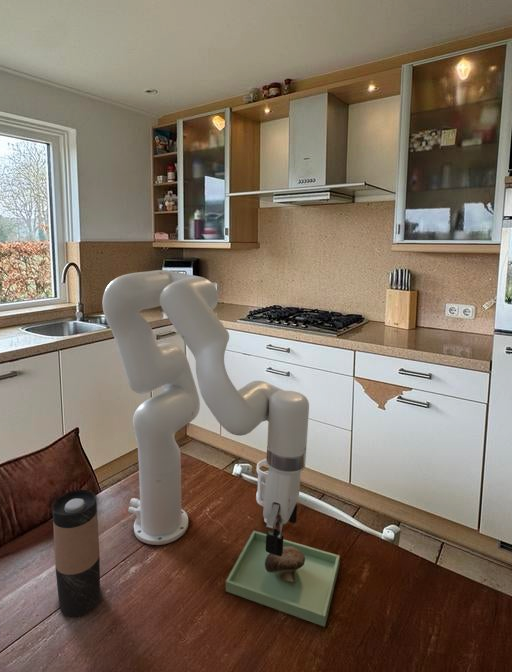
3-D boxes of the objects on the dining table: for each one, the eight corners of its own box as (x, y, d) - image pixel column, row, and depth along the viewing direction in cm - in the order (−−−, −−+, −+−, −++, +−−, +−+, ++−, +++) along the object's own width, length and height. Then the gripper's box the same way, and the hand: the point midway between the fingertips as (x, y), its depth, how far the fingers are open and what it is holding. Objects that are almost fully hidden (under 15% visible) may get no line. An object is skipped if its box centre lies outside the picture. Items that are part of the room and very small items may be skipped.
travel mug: (109, 589, 82) (105, 493, 79) (82, 623, 74) (77, 519, 72) (77, 578, 84) (72, 485, 81) (48, 611, 77) (41, 510, 74)
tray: (225, 591, 81) (225, 581, 81) (253, 538, 95) (253, 530, 95) (325, 627, 74) (325, 616, 74) (339, 564, 88) (339, 555, 88)
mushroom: (304, 585, 78) (295, 546, 81) (264, 593, 80) (256, 554, 83) (313, 575, 85) (304, 540, 88) (276, 583, 87) (269, 548, 90)
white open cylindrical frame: (266, 534, 97) (267, 473, 95) (250, 516, 103) (251, 458, 101) (291, 524, 100) (292, 464, 98) (274, 507, 106) (275, 451, 104)
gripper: (280, 432, 91) (276, 504, 93) (251, 474, 75) (248, 560, 77) (315, 440, 88) (310, 514, 90) (292, 486, 72) (287, 575, 74)
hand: (281, 536), depth 84 cm, fingers open, 9 cm apart
